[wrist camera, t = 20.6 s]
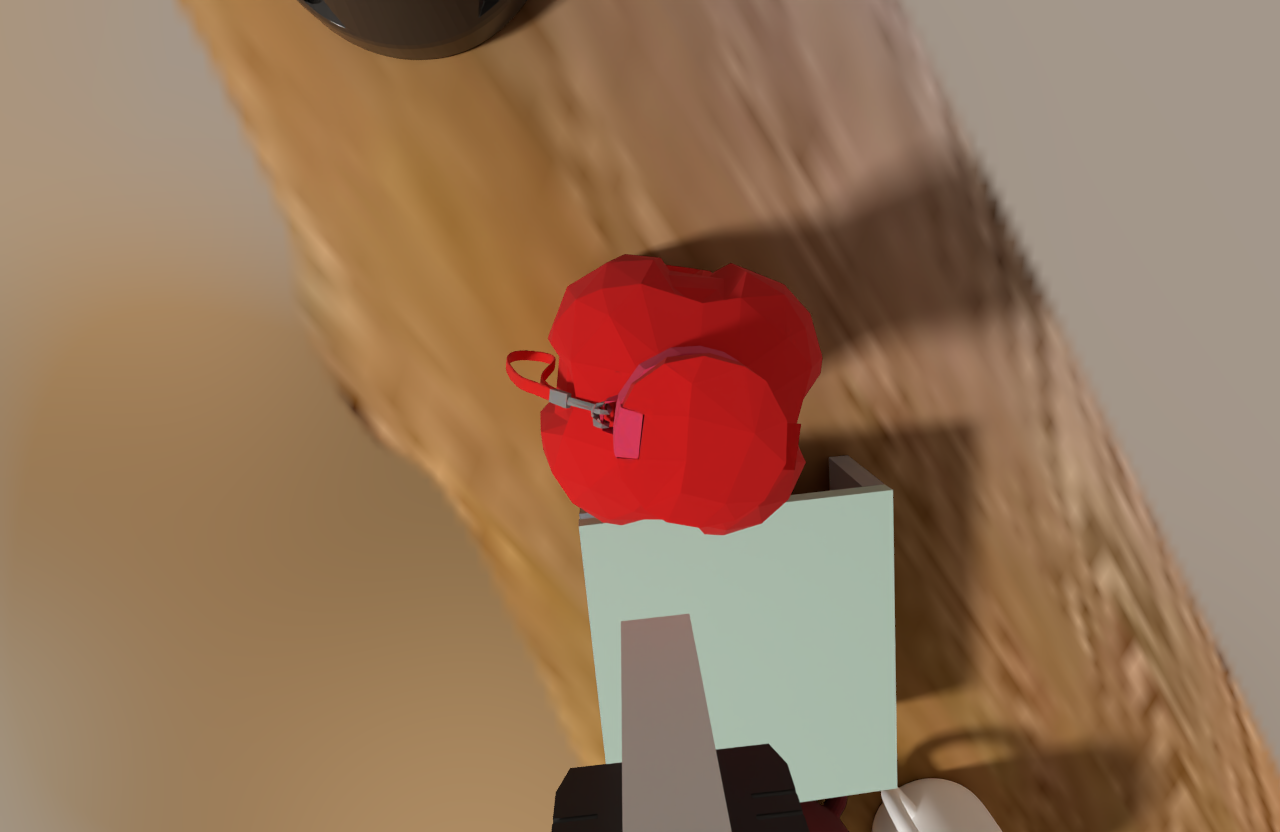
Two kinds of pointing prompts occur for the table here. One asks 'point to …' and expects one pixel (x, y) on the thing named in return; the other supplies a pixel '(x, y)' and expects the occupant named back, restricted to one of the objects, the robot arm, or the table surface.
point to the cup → (932, 809)
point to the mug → (825, 815)
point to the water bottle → (676, 394)
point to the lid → (768, 630)
